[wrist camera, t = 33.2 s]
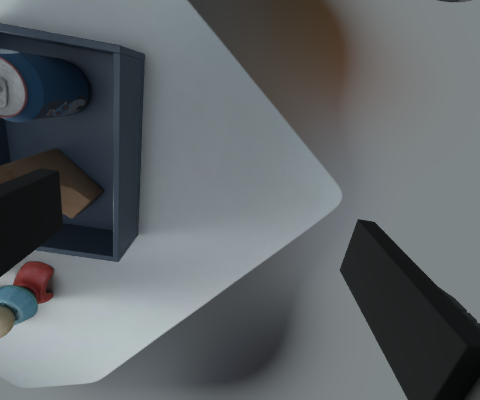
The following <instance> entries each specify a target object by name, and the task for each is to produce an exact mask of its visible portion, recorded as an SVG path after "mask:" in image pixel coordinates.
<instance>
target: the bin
mask: <svg viewBox="0 0 480 400" xmlns="http://www.w3.org/2000/svg"><path fill="white" fill-rule="evenodd" d="M0 49H6V50H12V51H18V52H24V53H30V54H36V55H42V56H48V57H54V58H60V59H64V60H67V61H69V62H70V63H72V64H73V65H75V66H76V67H77V68H78V69H79V70H80V71H81V72H82V74H83V75H84V77H85V79H86V81H87V84H88V88H89V98H88V101H87V104H86V106H85V107H84V108H83V109H82V110H81V111H80V112H78V113H76V114H73V115H68V116H61V117H54V118H47V119H40V120H33V121H26V122H12V121H9V120H6V119H3V118H0V166H1V165H4V164H7V163H10V162H14V161H17V160H20V159H23V158H26V157H29V156H32V155H36V154H39V153H42V152H45V151H48V150H52V149H55V148H57V149H58V150H60V151H61V152H62V153H63V154H64V155H65V156H66V157H67V158H68V159H69V160H71V161H72V162H73V163H74V164H75V165H76V166H77V167H78V168H79V169H81V170H82V171H83V172H84V173H85V174H86V175H87V176H88V177H89V178H91V179H92V180H93V181H94V182H95V183H96V184H97V185H98V186H99V187H101V188H102V189H103V193H102V194H101V195H100V196H99V197H98V198H97V199H96V200H95V201H94V202H93V203H92V204H91V205H90V206H89V207H88V208H87V209H85V210H84V211H83V212H81V213H80V214H79V215H77V216H76V217H75V218H69V217H68V216H66V215H65V214H63V213H62V216H63V229H62V230H60V231H59V232H58V233H56V234H55V235H54V236H53V237H51V238H50V239H49V240H47V241H46V242H45V243H44V244H42V245H41V246H40V247H38V248H37V249H36V250H37V251H44V252H51V253H58V254H65V255H72V256H79V257H86V258H93V259H100V260H107V261H114V262H119V261H120V259H121V258H122V256H123V255H124V254H125V252H126V251H127V249H128V248H129V247H130V245H131V244H132V242H133V241H134V240H135V238H136V237H137V236H138V218H139V191H140V164H141V138H142V111H143V84H144V58H145V54H143V53H140V52H137V51H134V50H131V49H129V48H126V47H123V46H120V45H115V44H110V43H105V42H99V41H94V40H88V39H83V38H77V37H72V36H66V35H61V34H56V33H50V32H45V31H39V30H34V29H28V28H23V27H18V26H12V25H7V24H1V23H0Z"/></svg>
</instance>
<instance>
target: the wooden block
mask: <svg viewBox="0 0 480 400" xmlns="http://www.w3.org/2000/svg"><path fill="white" fill-rule="evenodd" d="M40 168H43V169H50V170H56V171H59V175H60V189H61V202H62V213H63V214H65V215H66V216H68V217H69V218H75V217H76V216H77V215H79V214H80V213H81V212H83V211H84V210H85V209H87V208H88V207H89V206H90V205H91V204H92V203H93V202H94V201H95V200H96V199H97V198H98V197H99V196H100V195H101V194H102V193H103V189H102V188H101V187H99V186H98V185H97V184H96V183H95V182H94V181H93V180H92V179H91V178H89V177H88V176H87V175H86V174H85V173H84V172H83V171H82V170H81V169H79V168H78V167H77V166H76V165H75V164H74V163H73V162H72V161H71V160H69V159H68V158H67V157H66V156H65V155H64V154H63V153H62V152H61V151H60V150H58V149H57V148H55V149H52V150H48V151H45V152H42V153H39V154H36V155H32V156H29V157H26V158H23V159H20V160H17V161H14V162H10V163H7V164H4V165H1V166H0V184H1V183H4V182H6V181H9V180H11V179H14V178H17V177H19V176H22V175H24V174H27V173H29V172H32V171H35V170H37V169H40Z"/></svg>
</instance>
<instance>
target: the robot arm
mask: <svg viewBox="0 0 480 400" xmlns="http://www.w3.org/2000/svg"><path fill="white" fill-rule="evenodd" d="M62 229H63V216H62V202H61V189H60V175H59V171H56V170H50V169H43V168H40V169H37V170H35V171H32V172H29V173H27V174H24V175H22V176H19V177H17V178H14V179H11V180H9V181H6V182H4V183H1V184H0V277H1V276H2V275H3V274H5V273H6V272H7V271H9V270H10V269H11V268H12V267H14V266H15V265H16V264H18V263H19V262H20V261H22V260H23V259H24V258H25V257H27V256H28V255H29V254H31V253H32V252H33V251H34V250H36V249H37V248H38V247H40V246H41V245H42V244H44V243H45V242H46V241H47V240H49V239H50V238H51V237H53V236H54V235H55V234H56V233H58V232H59V231H60V230H62ZM340 272H341V274H342V275H343V277H344V279H345V281H346V283H347V285H348V287H349V289H350V291H351V292H352V294H353V296H354V298H355V300H356V302H357V304H358V305H359V307H360V309H361V312H362V313H363V315H364V317H365V319H366V321H367V323H368V325H369V327H370V329H371V330H372V332H373V334H374V336H375V338H376V340H377V342H378V344H379V346H380V348H381V349H382V351H383V353H384V355H385V357H386V359H387V361H388V363H389V364H390V366H391V368H392V370H393V372H394V374H395V376H396V378H397V380H398V382H399V383H400V385H401V387H402V389H403V391H404V393H405V395H406V396H407V399H408V400H480V323H477V320H476V319H475V318H474V317H473V316H472V315H471V314H470V313H467V310H466V309H465V308H464V307H463V306H462V305H461V304H460V303H459V302H458V301H457V300H456V299H455V298H453V297H452V296H451V295H449V294H448V293H446V292H445V291H443V290H442V289H441V288H439V287H437V285H436V284H435V283H434V282H433V281H432V280H431V279H430V278H429V277H428V276H427V275H426V274H425V273H424V272H423V271H422V270H421V269H420V268H419V267H418V266H417V265H416V264H415V263H414V262H413V261H412V260H411V259H410V258H409V257H408V256H407V255H406V254H405V253H404V252H403V251H402V250H401V249H400V248H399V247H398V246H397V245H396V244H395V242H394V241H393V240H391V238H390V237H389V236H388V235H387V234H386V233H385V232H384V231H383V230H382V229H381V228H380V227H379V226H378V225H377V224H376V223H375V222H372V221H365V220H359V219H358V221H357V223H356V226H355V229H354V232H353V234H352V237H351V240H350V243H349V246H348V249H347V251H346V254H345V257H344V259H343V263H342V265H341V268H340Z"/></svg>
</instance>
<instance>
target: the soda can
mask: <svg viewBox="0 0 480 400" xmlns="http://www.w3.org/2000/svg"><path fill="white" fill-rule="evenodd" d="M88 98H89V88H88V84H87V81H86V79H85V77H84V75H83V74H82V72H81V71H80V70H79V69H78V68H77V67H76V66H75V65H73V64H72V63H70V62H69V61H67V60H64V59H60V58H54V57H48V56H42V55H36V54H30V53H24V52H18V51H12V50H6V49H0V118H3V119H6V120H9V121H12V122H26V121H33V120H40V119H47V118H54V117H61V116H68V115H73V114H76V113H78V112H80V111H81V110H82V109H83V108H84V107H85V106H86V104H87V101H88Z"/></svg>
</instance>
